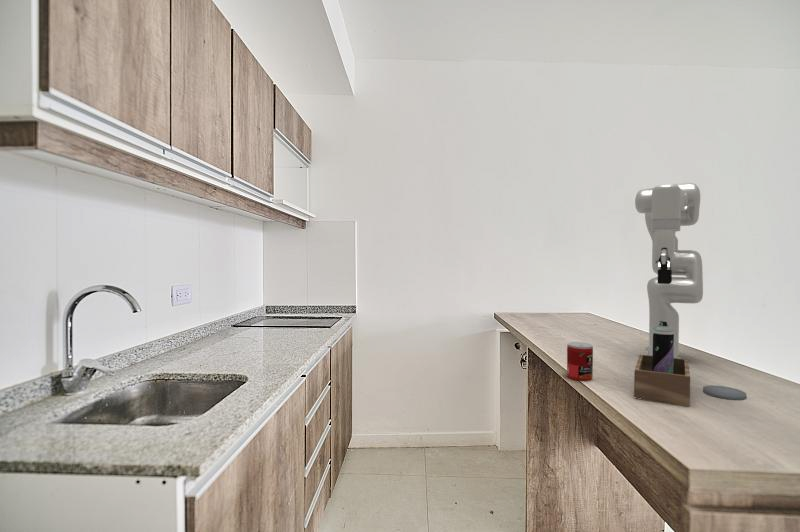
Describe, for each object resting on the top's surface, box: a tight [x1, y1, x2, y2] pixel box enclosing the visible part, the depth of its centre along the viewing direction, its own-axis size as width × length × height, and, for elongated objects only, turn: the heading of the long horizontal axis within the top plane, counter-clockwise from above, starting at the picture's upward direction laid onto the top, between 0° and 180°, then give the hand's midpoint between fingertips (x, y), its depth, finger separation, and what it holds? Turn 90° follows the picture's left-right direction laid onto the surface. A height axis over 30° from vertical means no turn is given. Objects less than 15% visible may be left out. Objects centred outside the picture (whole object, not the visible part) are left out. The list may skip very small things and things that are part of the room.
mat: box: [702, 385, 747, 401], centre depth 125 cm, size 10×10×1 cm
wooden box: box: [633, 354, 691, 408], centre depth 128 cm, size 22×13×8 cm, turn 148°
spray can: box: [652, 321, 674, 374], centre depth 132 cm, size 6×6×20 cm
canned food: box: [566, 341, 594, 382], centre depth 142 cm, size 8×8×11 cm
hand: (664, 283), depth 132 cm, fingers open, 9 cm apart
